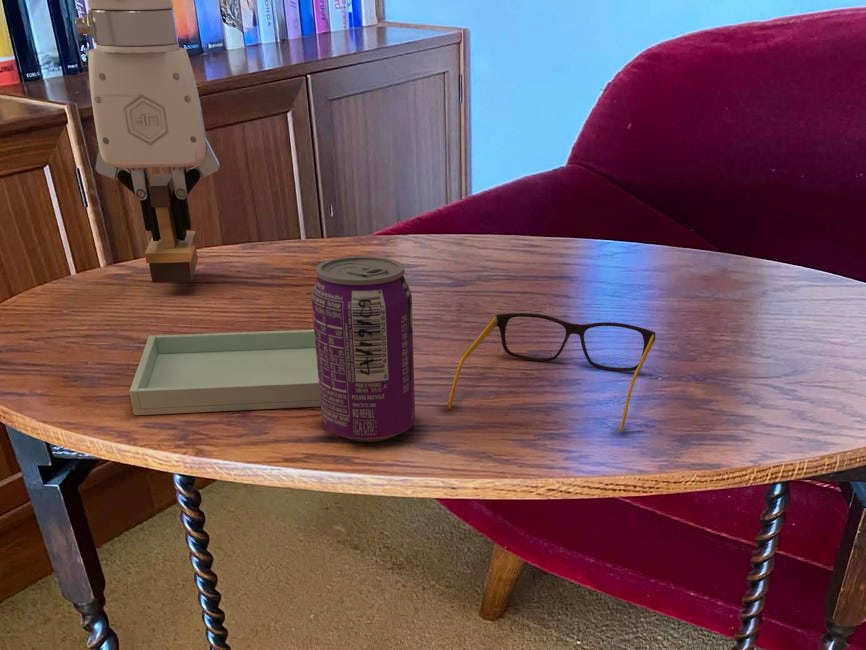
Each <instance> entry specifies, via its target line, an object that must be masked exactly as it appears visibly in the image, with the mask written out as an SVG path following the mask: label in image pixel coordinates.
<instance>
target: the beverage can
mask: <svg viewBox="0 0 866 650" xmlns="http://www.w3.org/2000/svg"><path fill="white" fill-rule="evenodd" d="M315 275H316V276H317V278H316V280H315V283H314V287H313V289H312V291H311V309H312V320H313V330H314V333H315V345H316V357H317V368H318V380H319V391H320V403H321V406H320V412H321V423H322V425H323V427H324V428H325V430H327V431H328V432H331V433H333V434H334V435H337V436H340V437H342V438H344V439H347V440H351V441H353V442H362V443H364V442H365V443H372V442H373V443H374V442H381V441H386V440H389V439H392V438H394V437H396V436H398V435H399V434H402V433H403V432H405V431H408V430H409V429H410V428H411V427H412V426H413V425H414V424H415V422H416V402H415V397H416V396H415V395H416V393H415V363H414V360H415V359H414V329H413V327H414V326H413V296H412V295H413V294H412V291H411V288H410V286H409V284H408V283H407V280H406V279H405V276H404V275H405V266H404V264H403V263H401V262H400V261H398V260H395V259H392V258H388V257H382V256H373V255H371V256H370V255H354V256H353V255H352V256H343V257H336V258H335V257H334V258H331V259H328V260H324V261H322V262H320V263H319V264H317V266H315Z"/></svg>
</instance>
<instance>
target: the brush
mask: <svg viewBox="0 0 866 650" xmlns="http://www.w3.org/2000/svg"><path fill="white" fill-rule="evenodd" d="M148 188H149V193H150V199H151V205H152V207H156V214H157V220H158V225H159V231H160V237H161V240H159V241H153V237H151V239H150V241H149V243H148V246H147V248H146V250H145V252H144V257H145V263H146V264H148V267H149V272H150V278H151V282H152V283H153V284H154V283H155V284H156V283H160V284H161V283H187V282H193V278H194V275H195V271H196V268H197V265H198V261H199V257H198V251H197V241H198V237H197V232H196V230H186V232H187V235H186V238H185V240H183V241H180V240H179V239H177V235H176V229H175V223H174V217H173V211H172V205H171V203H172V202H171V201H172V199H173V190H174V184H173V178H172V173H164V174H163V173H162V174H161V173H159V174H157V173H156V174H154V176H153V177H152V179H151V181H150V182H149V186H148Z"/></svg>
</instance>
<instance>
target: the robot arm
mask: <svg viewBox="0 0 866 650" xmlns="http://www.w3.org/2000/svg"><path fill="white" fill-rule="evenodd" d="M87 4H88V10H87V13H86V15H83V16H82V17H75V19H74V21H75V27H76V32H77V34H78V35H86V36H87V37H90V38H91V39H93V43H94V44H95V46H96V47H95V48H92V49H89V50H88V51H87V53H88V55H87V59H88V60H87V62H88V64H87V65H88V79H89V89H90V97H91V106H92V114H93V121H94V126H95V135H96V139H97V140H96V141H97V146H98V150H97V155H96V162H95V168H94V169H95V171H96V173H97V174H99V175H101V176H103V177H107V178H109V179H112V180H114V181H117V182H120V184H122V185H123V186H124V187H126V189H128V190H129V191H130V192H131V193H132V194H133V195H135V197H136V199H137V200H139V202H140V208H141V214H142V218H143V225H144V229H145V232H150V233H151V236H152V237H153V241H159V240H161V237H160V231H159V225H158V220H157V214H156V207H152V205H151V199H150V193H149V188H148V186H149V184H150V180H149V173H148V168H170V171H171V174H172V178H173V184H174V190H173V199H172V201H171V202H172V203H171V205H172V211H173V217H174V223H175V229H176V235H177V239H179V240H180V241H183V240H185V238H186V235H187V232H186V231H192V219H191V215H190V214H191V213H190V207H189V201H188V195H190V193H191V191H192V190H193V188H195V186H196V185H197V183H198V182H199V181H201V180H203V179H205V178H208V177H209V176H212V175H214V174H215V173H217V172H218V171H219V170H220V168H221V167H220V166H221V165H220V161H219V160H218V158H217V156H216V155H215V152H214V150H213V148H212V146H211V145H210V144H211V143H210V142H209V140H208V139H207V133H206V126H205V120H204V115H203V111H202V104H201V101H200V95H199V90H198V86H197V82H196V78H195V74H194V71H193V66H192V63H191V61H190V56H189V54H188V51H187V49H186V48H184V47H180V45H179V38H178V32H177V25H176V19H175V18H176V17H175V12H174V5H173V0H87ZM187 167H188V168H189V167H190V168H189V169H188V170H187ZM152 237H151V238H152Z"/></svg>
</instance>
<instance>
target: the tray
mask: <svg viewBox="0 0 866 650" xmlns="http://www.w3.org/2000/svg"><path fill="white" fill-rule="evenodd" d="M128 393H129V397H130V401H131V406H132V411H133V416H148V415H149V416H151V415H170V414H193V413H211V412H215V413H216V412H229V411H230V412H235V411H252V410H253V411H254V410H276V409H294V408H296V409H297V408H319V407H321V403H320V391H319V380H318V368H317V357H316V345H315V333H314V329H292V330H271V331H270V330H265V331H263V330H262V331H238V332H237V331H235V332H212V333H210V332H209V333H208V332H207V333H184V334H183V333H182V334H180V333H179V334H157V335H156V334H155V335H148V337H147V340H146V343H145V346H144V348H143V352H142V354H141V357H140V360H139V363H138V367H137V368H136V371H135V374H134V376H133V380H132V383H131V385H130V389H129V392H128Z"/></svg>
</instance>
